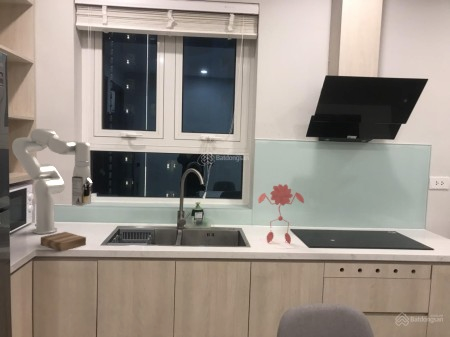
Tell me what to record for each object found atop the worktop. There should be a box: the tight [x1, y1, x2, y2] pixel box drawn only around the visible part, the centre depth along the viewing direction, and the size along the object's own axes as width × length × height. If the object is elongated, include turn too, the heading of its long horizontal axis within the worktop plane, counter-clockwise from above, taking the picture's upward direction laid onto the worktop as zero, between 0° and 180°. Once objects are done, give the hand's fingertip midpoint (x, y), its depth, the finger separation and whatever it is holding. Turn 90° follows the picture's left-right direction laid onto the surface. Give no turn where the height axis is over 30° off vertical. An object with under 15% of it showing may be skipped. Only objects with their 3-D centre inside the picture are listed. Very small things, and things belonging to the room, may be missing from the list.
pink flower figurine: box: [257, 183, 305, 245], centre depth 195 cm, size 15×26×35 cm, turn 85°
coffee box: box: [71, 175, 92, 207], centre depth 194 cm, size 9×6×16 cm
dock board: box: [40, 231, 87, 252], centre depth 182 cm, size 18×14×4 cm
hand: (81, 195), depth 194 cm, fingers closed on coffee box, 7 cm apart
